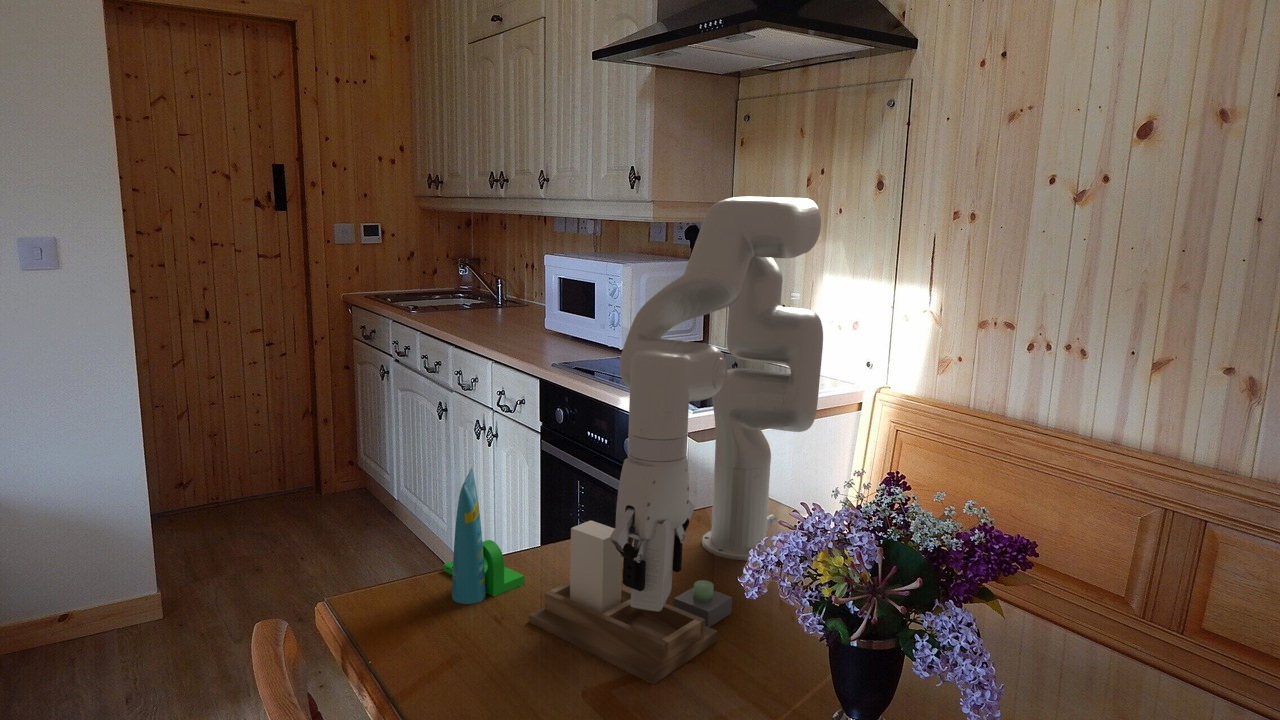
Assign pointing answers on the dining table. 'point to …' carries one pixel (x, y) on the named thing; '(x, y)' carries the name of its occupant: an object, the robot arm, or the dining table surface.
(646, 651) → the wooden compartment tray
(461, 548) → the tube
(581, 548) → the billet
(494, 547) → the mechanical part
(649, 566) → the skincare box
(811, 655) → the dining table surface
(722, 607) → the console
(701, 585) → the button
